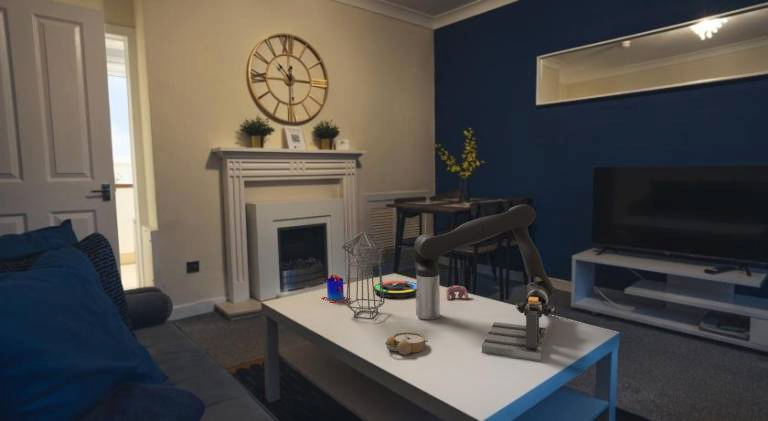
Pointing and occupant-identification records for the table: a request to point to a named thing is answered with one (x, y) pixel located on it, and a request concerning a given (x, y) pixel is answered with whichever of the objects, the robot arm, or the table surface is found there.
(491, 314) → the table surface
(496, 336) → the grey slotted base
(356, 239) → the geometric lantern
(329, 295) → the fantasy tower
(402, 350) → the alarm clock
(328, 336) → the table surface
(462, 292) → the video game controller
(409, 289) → the electronic game
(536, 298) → the orange rectangular block
